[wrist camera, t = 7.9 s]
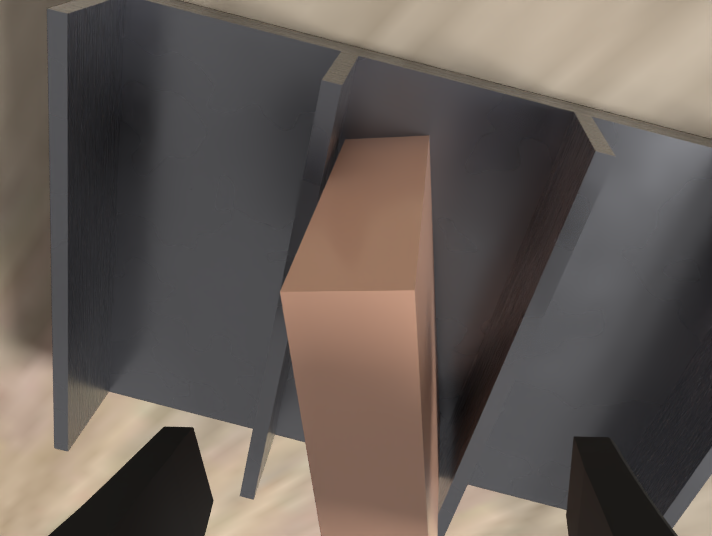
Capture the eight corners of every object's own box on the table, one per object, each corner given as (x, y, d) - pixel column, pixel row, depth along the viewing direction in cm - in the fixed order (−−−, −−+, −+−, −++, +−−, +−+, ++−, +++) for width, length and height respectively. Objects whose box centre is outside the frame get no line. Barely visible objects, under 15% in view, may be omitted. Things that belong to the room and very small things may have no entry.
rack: (807, 164, 16) (889, 228, 13) (601, 500, 22) (624, 595, 19) (122, -15, 16) (46, 8, 13) (108, 372, 22) (54, 447, 19)
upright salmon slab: (429, 135, 16) (415, 290, 10) (439, 425, 20) (434, 657, 14) (345, 139, 16) (279, 291, 10) (374, 424, 20) (340, 651, 14)
